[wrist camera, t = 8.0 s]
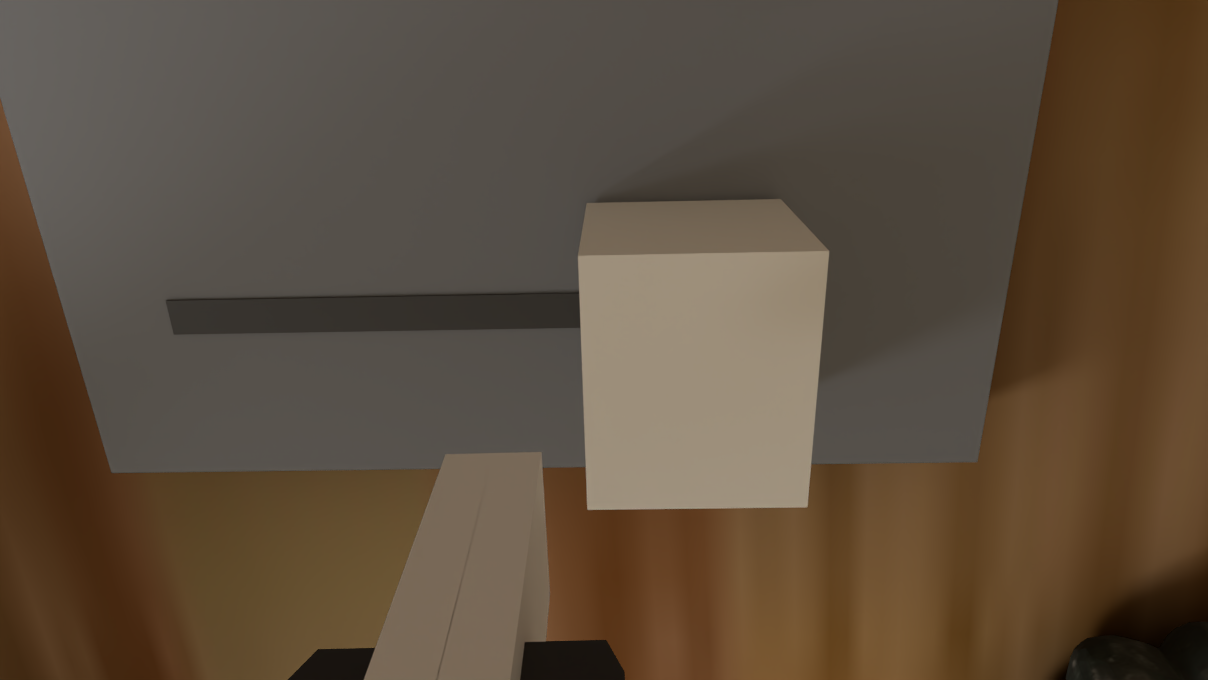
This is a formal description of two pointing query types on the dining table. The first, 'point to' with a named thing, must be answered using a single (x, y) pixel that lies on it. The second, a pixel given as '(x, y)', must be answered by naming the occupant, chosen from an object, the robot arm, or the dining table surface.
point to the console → (501, 207)
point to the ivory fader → (699, 353)
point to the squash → (1143, 657)
